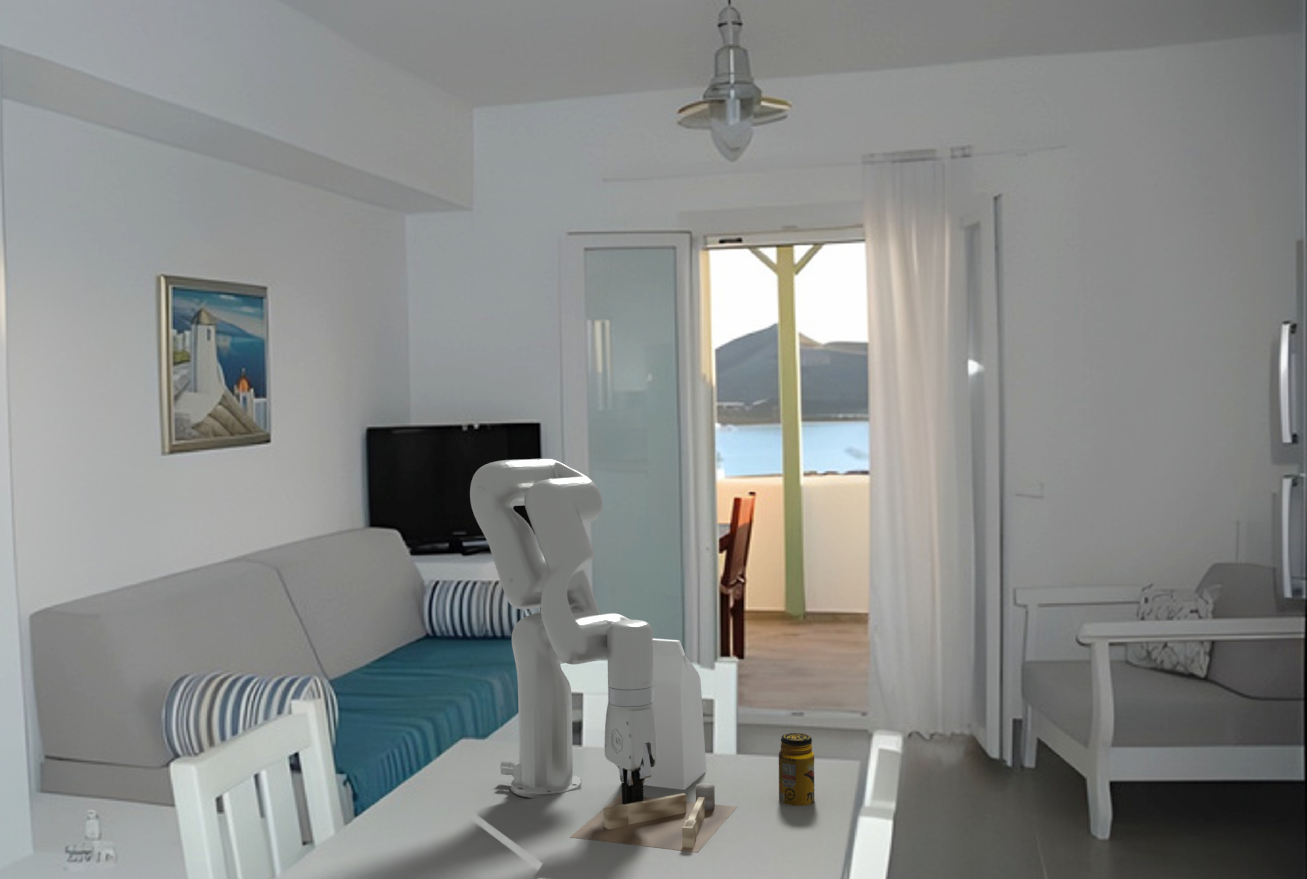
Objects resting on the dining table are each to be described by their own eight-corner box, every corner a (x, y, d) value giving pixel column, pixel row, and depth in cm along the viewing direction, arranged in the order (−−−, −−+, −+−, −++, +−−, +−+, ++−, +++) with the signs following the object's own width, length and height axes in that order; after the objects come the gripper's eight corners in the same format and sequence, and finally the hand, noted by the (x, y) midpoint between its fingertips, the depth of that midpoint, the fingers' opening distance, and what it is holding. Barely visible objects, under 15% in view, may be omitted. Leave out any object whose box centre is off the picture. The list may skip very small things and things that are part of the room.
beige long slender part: (697, 803, 209) (697, 782, 209) (715, 804, 209) (715, 783, 209) (677, 846, 189) (677, 823, 189) (697, 848, 189) (697, 824, 189)
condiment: (825, 807, 210) (824, 737, 210) (786, 817, 205) (786, 745, 205) (797, 796, 216) (796, 728, 216) (759, 805, 212) (758, 736, 211)
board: (569, 843, 194) (569, 837, 194) (620, 800, 215) (620, 794, 215) (697, 858, 187) (697, 852, 187) (737, 812, 208) (737, 806, 208)
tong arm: (682, 810, 206) (682, 792, 206) (687, 813, 205) (687, 795, 205) (603, 826, 199) (603, 808, 199) (608, 829, 197) (608, 810, 197)
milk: (621, 788, 222) (620, 643, 221) (646, 770, 232) (644, 632, 232) (684, 795, 217) (683, 648, 216) (706, 776, 228) (705, 636, 227)
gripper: (589, 690, 209) (591, 798, 209) (633, 708, 196) (635, 823, 196) (628, 685, 212) (630, 791, 213) (674, 701, 200) (675, 815, 200)
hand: (632, 806), depth 205 cm, fingers closed
